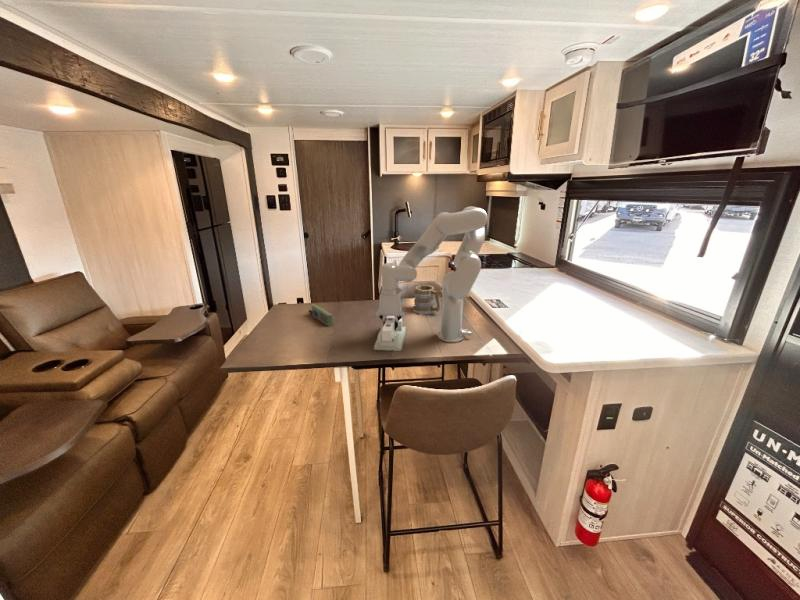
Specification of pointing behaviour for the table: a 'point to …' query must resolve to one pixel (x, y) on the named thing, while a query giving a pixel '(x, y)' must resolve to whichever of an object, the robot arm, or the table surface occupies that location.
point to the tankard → (426, 300)
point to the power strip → (388, 329)
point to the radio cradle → (396, 340)
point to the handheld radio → (322, 315)
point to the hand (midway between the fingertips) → (390, 328)
